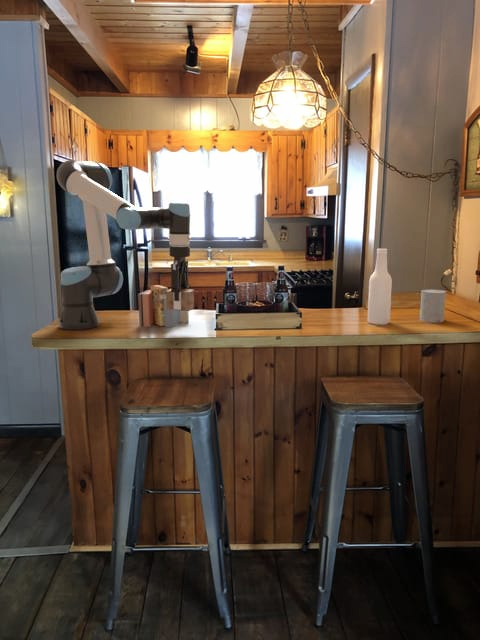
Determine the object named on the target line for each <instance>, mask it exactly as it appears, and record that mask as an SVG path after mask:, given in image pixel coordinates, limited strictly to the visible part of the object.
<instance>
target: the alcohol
mask: <svg viewBox="0 0 480 640" xmlns="http://www.w3.org/2000/svg"><path fill="white" fill-rule="evenodd" d="M375 261H376V262H375V268H374V271H373V273H372V274H371V275H370V277H369V280H368V301H367V302H368V303H367V319H366V320H367V322H368V324H371V325H376V326H379V325H380V326H384V325H385V326H386V325H389V323H390V321H391V307H392V306H391V304H392V303H391V302H392V288H393V287H392V286H393V281H392V280H393V279H392V276H391V275H390V272H388V248H383V247H381V248H377V249H376V260H375Z"/></svg>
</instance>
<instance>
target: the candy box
mask: <svg viewBox="0 0 480 640" xmlns="http://www.w3.org/2000/svg"><path fill="white" fill-rule="evenodd" d="M149 288H150V289H149V290H151V292H152V296H153V316H154V324H155V325H158V326H161V327H162V326H164V327H165V321H164V299H166V291H167V290H169V288H168V286H163V285H160V284H156V285H150V286H149Z"/></svg>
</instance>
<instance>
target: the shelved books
mask: <svg viewBox="0 0 480 640" xmlns="http://www.w3.org/2000/svg"><path fill="white" fill-rule="evenodd" d="M142 301H143V323H144V325H143V327H151V326H152V325H154V324H155V323H154V316H153V296H152V292H151V291H148V292H146V293H143V294H142ZM164 321H165V325H164V328H165V327H166V328H174V327H175V326H177V325H178V324H179V323H180V322H179V310H166V299H164Z"/></svg>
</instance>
